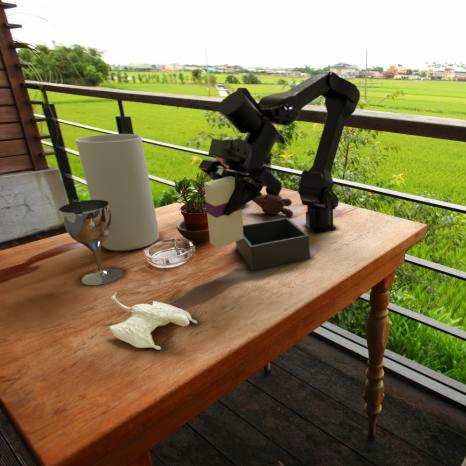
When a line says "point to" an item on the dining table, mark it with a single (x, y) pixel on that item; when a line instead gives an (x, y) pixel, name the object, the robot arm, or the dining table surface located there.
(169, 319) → the winged dragon toy
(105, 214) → the silver goblet
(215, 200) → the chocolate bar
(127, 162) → the cylinder vase
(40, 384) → the dining table surface
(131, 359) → the dining table surface
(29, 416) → the dining table surface
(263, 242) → the open storage bin
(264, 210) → the brown animal figurine
